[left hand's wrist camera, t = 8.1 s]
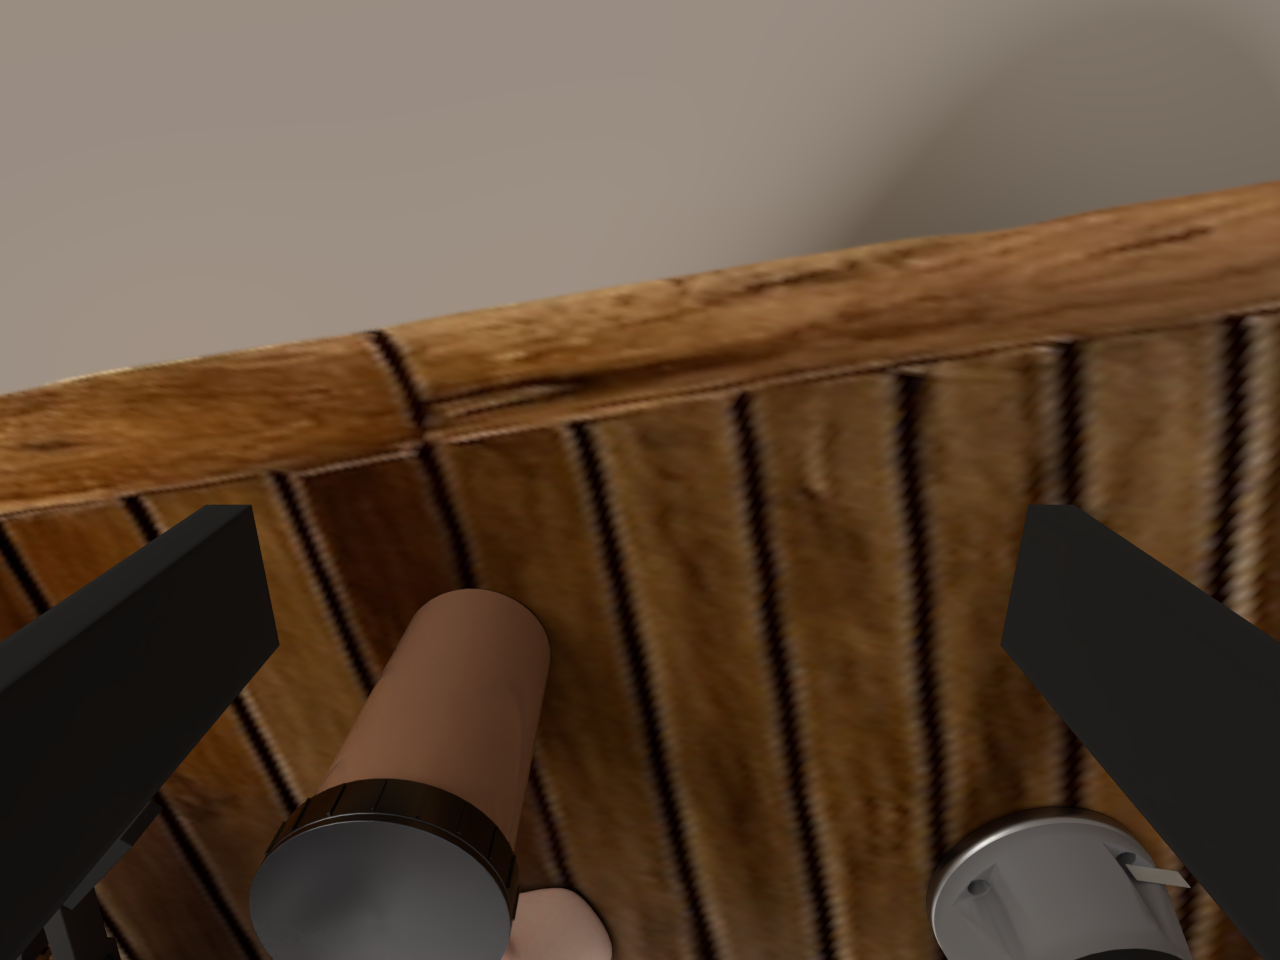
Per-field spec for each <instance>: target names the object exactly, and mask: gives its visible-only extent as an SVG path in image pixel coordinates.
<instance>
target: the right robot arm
mask: <svg viewBox="0 0 1280 960" xmlns="http://www.w3.org/2000/svg"><path fill="white" fill-rule="evenodd" d="M162 808H163V807H161V806H160V805H158V804H156V803H155V802H153V801H152V800H151V801H150V803H149V804H148V805H147V806H146V807H145V808H144V809H143V810H142V811H141V812H140V813H139V814H138V815H137V816H136V818H135V819H134V820H133V821H132V822H131V823H130V824H129V826H128V827H127V828H126V829H125V830H124V832H123V833H122V834H121V835H120V836H119V838H118V839H117V840H116V841H115V842H114V844H113V845H112V846H111V847H110V848H109V850H108V851H107V852H106V853H105V854H104V856H103V857H102V858H101V859H100V860H99V862H98V863H97V864H96V865H95V866H94V867H93V869H92V870H91V871H90V872H89V873H88V875H87V876H86V877H85V878H84V879H83V881H82V882H81V883H80V884H79V885H78V887H77V888H76V889H75V890H74V891H73V893H72V894H71V895H70V896H69V897H68V899H67V900H66V901H65V902H64V903H63V905H62V906H61V907H60V908H59V909H58V911H57V912H56V913H55V914H54V915H53V917H52V918H51V919H50V920H49V921H48V922H47V924H46V925H45V926H44V927H43V928H42V930H41V931H40V932H39V933H38V934H37V936H36V937H35V938H34V939H33V940H32V942H31V943H30V944H29V945H28V946H27V948H26V949H25V950H24V951H23V952H22V954H21V955H20V956H19V957H18V958H17V960H49V957H50V956H51V955H53V958H54V960H121V959H120V955H119V951H118V947H117V944H116V940H115V938H112V937H107V934H106V930H105V927H104V923H103V919H102V916H101V912H100V908H99V904H98V901H97V897H96V893H95V890H94V886H95V885H96V884H97V883H98V882H99V881H100V880H101V879H102V878H103V877H104V876H105V875H106V874H107V872H108V871H109V870H110V869H111V868H112V867H113V866H114V865H115V864H116V863H117V862H118V861H119V860H120V859H121V858H122V857H123V856H124V854H125V853H126V852H127V851H128V850H129V849H130V848H131V847H132V846H133V845H134V843H135V842H136V841H137V840H138V838H139V837H140V836H141V835H142V833H143V832H144V831H145V830H146V828H147V827H148V826H149V825H150V823H151V822H152V821H153V820H154V818H155V817H156V816H157V815H158V813H159V812H160V811H161V809H162ZM48 945H49V946H48Z"/></svg>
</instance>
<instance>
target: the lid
mask: <svg viewBox="0 0 1280 960" xmlns="http://www.w3.org/2000/svg"><path fill="white" fill-rule="evenodd" d="M265 855H266V857H265V859H264V860H263V862H262V864H261V865H260V867H259V869H258V871H257V873H256V875H255V877H254V879H253V883H252V886H251V889H250V898H249V909H250V917H251V921H252V925H253V928H254V930H255V932H256V935H257V937H258V939H259V941H260V942H261V944H262V945H263V947H264V949H265V950H266V951H267V953H268V954H269V955H270V956H271V957H272V959H273V960H502V958H503V956H504V954H505V952H506V950H507V946H508V943H509V939H510V935H511V929H512V923H513V921H515V917H516V911H517V905H518V899H519V894H520V888H521V886H520V885H519V872H518V866H517V862H516V855H514V853H513V850H512V848H511V846H510V844H509V842H508V840H507V839H506V837H505V836H504V834H503V833H502V831H501V830H500V829H499V827H498V826H497V825H496V824H495V823H494V822H493V821H492V820H491V819H490V818H489V817H488V816H487V815H485V814H484V813H483V812H482V811H481V810H479V809H478V808H477V807H475V806H474V805H472V804H471V803H469V802H468V801H466V800H464V799H462V798H460V797H459V796H457V795H455V794H453V793H450V792H448V791H446V790H443V789H441V788H438V787H434V786H431V785H428V784H425V783H420V782H415V781H410V780H402V779H392V778H374V779H364V780H357V781H352V782H348V783H342V784H340V785H337V786H334V787H331V788H329V789H326V790H324V791H322V792H320V793H318V794H316V795H315V796H313V797H312V798H308V799H307V800H306V802H304V803H303V804H302V805H301V806H300V807H298V808H297V809H296V810H295V811H294V812H293V813H292V814H291V816H290V817H289V818H288V820H287V821H286V822H285V821H284V822H283V823H282V825H281V827H280V828H279V830H278V832H277V833H276V835H275V837H274V839H273V840H272V842H271V844H270V846H269V847H268V849H267V851H266V852H265Z"/></svg>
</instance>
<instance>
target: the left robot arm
mask: <svg viewBox="0 0 1280 960" xmlns="http://www.w3.org/2000/svg"><path fill="white" fill-rule="evenodd" d="M278 646H279V640H278V635H277V630H276V625H275V620H274V615H273V610H272V605H271V600H270V595H269V590H268V585H267V580H266V575H265V570H264V565H263V560H262V555H261V550H260V545H259V540H258V535H257V530H256V525H255V520H254V515H253V510H252V505H205V506H204V507H202V508H201V509H199V510H198V511H196V512H195V513H193V514H192V515H190V516H189V517H187V518H186V519H184V520H183V521H181V522H180V523H178V524H177V525H175V526H174V527H172V528H171V529H169V530H168V531H166V532H165V533H163V534H162V535H160V536H159V537H157V538H156V539H154V540H153V541H151V542H150V543H148V544H147V545H145V546H144V547H142V548H141V549H139V550H138V551H136V552H135V553H133V554H132V555H130V556H129V557H127V558H126V559H124V560H123V561H121V562H120V563H118V564H117V565H115V566H114V567H112V568H111V569H109V570H108V571H106V572H105V573H104V574H102V575H101V576H99V577H98V578H96V579H95V580H93V581H92V582H90V583H89V584H87V585H86V586H84V587H83V588H81V589H80V590H78V591H77V592H75V593H74V594H72V595H71V596H69V597H68V598H66V599H65V600H63V601H62V602H60V603H59V604H57V605H56V606H54V607H53V608H51V609H50V610H48V611H47V612H45V613H44V614H42V615H41V616H39V617H38V618H36V619H35V620H33V621H32V622H30V623H29V624H27V625H26V626H24V627H23V628H21V629H20V630H18V631H17V632H15V633H14V634H12V635H11V636H9V637H8V638H6V639H5V640H3V641H2V642H0V960H17V958H18V957H19V956H20V955H21V954H22V952H23V951H24V950H25V949H26V948H27V946H28V945H29V944H30V943H31V942H32V940H33V939H34V938H35V937H36V936H37V934H38V933H39V932H40V931H41V930H42V928H43V927H44V926H45V925H46V924H47V922H48V921H49V920H50V919H51V918H52V917H53V915H54V914H55V913H56V912H57V911H58V909H59V908H60V907H61V906H62V905H63V903H64V902H65V901H66V900H67V899H68V897H69V896H70V895H71V894H72V893H73V891H74V890H75V889H76V888H77V887H78V885H79V884H80V883H81V882H82V881H83V879H84V878H85V877H86V876H87V875H88V873H89V872H90V871H91V870H92V869H93V867H94V866H95V865H96V864H97V863H98V862H99V860H100V859H101V858H102V857H103V856H104V854H105V853H106V852H107V851H108V850H109V848H110V847H111V846H112V845H113V844H114V842H115V841H116V840H117V839H118V838H119V836H120V835H121V834H122V833H123V832H124V830H125V829H126V828H127V827H128V826H129V824H130V823H131V822H132V821H133V820H134V818H135V817H136V816H137V815H138V814H139V813H140V811H141V810H142V809H143V808H144V807H145V805H146V804H147V803H148V802H149V801H150V799H151V798H152V797H153V796H154V795H155V793H156V792H157V791H158V790H159V789H160V787H161V786H162V785H163V784H164V783H165V781H166V780H167V779H168V778H169V777H170V775H171V774H172V773H173V772H174V771H175V769H176V768H177V767H178V766H179V765H180V764H181V762H182V761H183V760H184V759H185V758H186V756H187V755H188V754H189V753H190V752H191V750H192V749H193V748H194V747H195V746H196V744H197V743H198V742H199V741H200V740H201V738H202V737H203V736H204V735H205V734H206V732H207V731H208V730H209V729H210V728H211V726H212V725H213V724H214V723H215V722H216V720H217V719H218V718H219V717H220V716H221V715H222V713H223V712H224V711H225V710H226V709H227V707H228V706H229V705H230V704H231V703H232V701H233V700H234V699H235V698H236V697H237V695H238V694H239V693H240V692H241V691H242V689H243V688H244V687H245V686H246V685H247V683H248V682H249V681H250V680H251V679H252V677H253V676H254V675H255V674H256V673H257V671H258V670H259V669H260V668H261V667H262V666H263V664H264V663H265V662H266V661H267V660H268V658H269V657H270V656H271V655H272V654H273V652H274V651H275V650H276V649H277V648H278ZM1001 646H1002V648H1003V649H1004V650H1005V651H1006V652H1007V654H1008V655H1009V656H1010V657H1011V658H1012V660H1013V661H1014V662H1015V663H1016V664H1017V666H1018V667H1019V668H1020V669H1021V670H1022V671H1023V673H1024V674H1025V675H1026V676H1027V677H1028V679H1029V680H1030V681H1031V682H1032V683H1033V685H1034V686H1035V687H1036V688H1037V689H1038V691H1039V692H1040V693H1041V694H1042V695H1043V697H1044V698H1045V699H1046V700H1047V701H1048V703H1049V704H1050V705H1051V706H1052V707H1053V709H1054V710H1055V711H1056V712H1057V713H1058V715H1059V716H1060V717H1061V718H1062V719H1063V720H1064V722H1065V723H1066V724H1067V725H1068V726H1069V728H1070V729H1071V730H1072V731H1073V732H1074V734H1075V735H1076V736H1077V737H1078V738H1079V740H1080V741H1081V742H1082V743H1083V744H1084V746H1085V747H1086V748H1087V749H1088V750H1089V752H1090V753H1091V754H1092V755H1093V756H1094V758H1095V759H1096V760H1097V761H1098V762H1099V764H1100V765H1101V766H1102V767H1103V768H1104V769H1105V771H1106V772H1107V773H1108V774H1109V775H1110V777H1111V778H1112V779H1113V780H1114V781H1115V783H1116V784H1117V785H1118V786H1119V787H1120V789H1121V790H1122V791H1123V792H1124V793H1125V795H1126V796H1127V797H1128V798H1129V799H1130V801H1131V802H1132V803H1133V804H1134V805H1135V807H1136V808H1137V809H1138V810H1139V811H1140V813H1141V814H1142V815H1143V816H1144V817H1145V818H1146V820H1147V821H1148V822H1149V823H1150V824H1151V826H1152V827H1153V828H1154V829H1155V830H1156V832H1157V833H1158V834H1159V835H1160V836H1161V838H1162V839H1163V840H1164V841H1165V842H1166V844H1167V845H1168V846H1169V847H1170V848H1171V850H1172V851H1173V852H1174V853H1175V854H1176V856H1177V857H1178V858H1179V859H1180V860H1181V862H1182V863H1183V864H1184V865H1185V866H1186V867H1187V869H1188V870H1189V871H1190V872H1191V873H1192V875H1193V876H1194V877H1195V878H1196V879H1197V881H1198V882H1199V883H1200V884H1201V885H1202V887H1203V888H1204V889H1205V890H1206V891H1207V893H1208V894H1209V895H1210V896H1211V897H1212V899H1213V900H1214V901H1215V902H1216V903H1217V905H1218V906H1219V907H1220V908H1221V909H1222V911H1223V912H1224V913H1225V914H1226V915H1227V917H1228V918H1229V919H1230V920H1231V921H1232V922H1233V924H1234V925H1235V926H1236V927H1237V928H1238V930H1239V931H1240V932H1241V933H1242V934H1243V936H1244V937H1245V938H1246V939H1247V940H1248V942H1249V943H1250V944H1251V945H1252V946H1253V948H1254V949H1255V950H1256V951H1257V952H1258V954H1259V955H1260V956H1261V957H1262V958H1263V960H1280V642H1278V641H1277V640H1275V639H1274V638H1272V637H1271V636H1269V635H1268V634H1266V633H1265V632H1263V631H1262V630H1260V629H1259V628H1257V627H1256V626H1254V625H1253V624H1251V623H1250V622H1248V621H1247V620H1245V619H1244V618H1242V617H1241V616H1239V615H1238V614H1236V613H1235V612H1233V611H1232V610H1230V609H1229V608H1227V607H1226V606H1224V605H1223V604H1221V603H1220V602H1218V601H1217V600H1215V599H1214V598H1212V597H1211V596H1209V595H1208V594H1206V593H1205V592H1203V591H1202V590H1200V589H1199V588H1197V587H1196V586H1194V585H1193V584H1191V583H1190V582H1188V581H1187V580H1185V579H1184V578H1182V577H1181V576H1179V575H1178V574H1176V573H1175V572H1174V571H1172V570H1171V569H1169V568H1168V567H1166V566H1165V565H1163V564H1162V563H1160V562H1159V561H1157V560H1156V559H1154V558H1153V557H1151V556H1150V555H1148V554H1147V553H1145V552H1144V551H1142V550H1141V549H1139V548H1138V547H1136V546H1135V545H1133V544H1132V543H1130V542H1129V541H1127V540H1126V539H1124V538H1123V537H1121V536H1120V535H1118V534H1117V533H1115V532H1114V531H1112V530H1111V529H1109V528H1108V527H1106V526H1105V525H1103V524H1102V523H1100V522H1099V521H1097V520H1096V519H1094V518H1093V517H1091V516H1090V515H1088V514H1087V513H1085V512H1084V511H1082V510H1081V509H1079V508H1078V507H1076V506H1075V505H1028V510H1027V515H1026V520H1025V525H1024V530H1023V535H1022V540H1021V545H1020V550H1019V555H1018V560H1017V565H1016V570H1015V575H1014V580H1013V585H1012V590H1011V595H1010V600H1009V605H1008V610H1007V615H1006V620H1005V625H1004V630H1003V635H1002V640H1001ZM1165 884H1167V885H1174V886H1181V887H1188V888H1191V887H1190V886H1189V885H1188V884H1187V883H1186V881H1185V880H1184V879H1183V878H1182V876H1181V875H1180V874H1179V873H1178V872H1177V871H1170V870H1163V869H1157V867H1156V865H1155V864H1154V862H1153V860H1152V858H1151V857H1150V855H1149V854H1148V853H1147V852H1146V850H1145V849H1144V848H1143V847H1142V845H1141V844H1140V843H1139V841H1138V840H1137V839H1136V838H1135V836H1134V835H1133V834H1132V833H1131V832H1130V831H1129V830H1128V829H1127V828H1125V827H1124V826H1123V825H1121V824H1120V823H1118V822H1116V821H1115V820H1113V819H1111V818H1109V817H1107V816H1105V815H1102V814H1099V813H1096V812H1093V811H1089V810H1084V809H1078V808H1069V807H1048V808H1038V809H1031V810H1026V811H1022V812H1017V813H1014V814H1011V815H1008V816H1005V817H1002V818H999V819H997V820H994V821H992V822H990V823H988V824H986V825H984V826H982V827H981V828H979V829H977V830H975V831H974V832H972V833H971V834H969V835H968V836H966V837H965V838H964V839H962V840H961V841H960V842H959V843H958V844H956V845H955V846H954V847H953V848H952V849H951V850H950V851H949V852H948V853H947V855H946V856H945V857H944V858H943V859H942V861H941V862H940V864H939V865H938V867H937V868H936V870H935V872H934V874H933V876H932V878H931V880H930V883H929V887H928V891H927V896H926V908H927V914H928V919H929V921H930V924H931V926H932V929H933V931H934V934H935V936H936V939H937V941H938V943H939V945H940V947H941V949H942V950H943V952H944V954H945V955H946V957H947V959H948V960H1193V958H1192V956H1191V953H1190V950H1189V948H1188V945H1187V942H1186V940H1185V937H1184V934H1183V932H1182V929H1181V926H1180V923H1179V921H1178V918H1177V915H1176V913H1175V910H1174V907H1173V905H1172V902H1171V899H1170V896H1169V894H1168V891H1167V888H1166V886H1165Z"/></svg>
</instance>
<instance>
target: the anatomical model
mask: <svg viewBox="0 0 1280 960" xmlns="http://www.w3.org/2000/svg"><path fill="white" fill-rule="evenodd" d="M611 957H612V946H611V942H610V939H609V936H608V933H607V931H606V929H605V927H604V925H603V924H602V922H601V921H600V919H599V918H598V916H597V915H596V914H595V912H594V911H593V910H592V908H591V907H590V906H589V905H588V904H587V903H586V902H585V901H584V900H583V899H582V898H581V897H580V896H579V895H577V894H576V893H575V892H573V891H570V890H568V889H563V888H547V889H539V890H534V891H529V892H524V893H520V894H519V899H518V905H517V911H516V917H515V921H513V923H512V929H511V935H510V939H509V943H508V946H507V950H506V952H505V954H504V956H503V958H502V960H611Z"/></svg>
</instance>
